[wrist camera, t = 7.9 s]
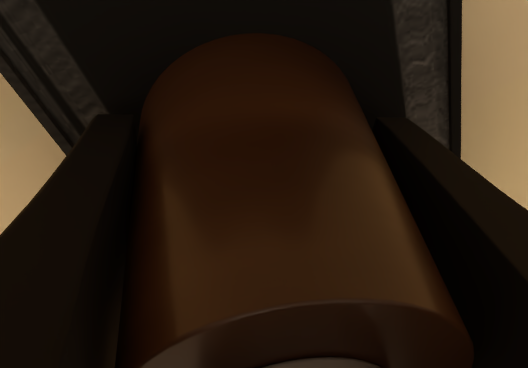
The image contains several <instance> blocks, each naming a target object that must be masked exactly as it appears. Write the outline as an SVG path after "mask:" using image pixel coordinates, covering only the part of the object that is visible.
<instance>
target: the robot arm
mask: <svg viewBox="0 0 528 368" xmlns="http://www.w3.org/2000/svg"><path fill="white" fill-rule="evenodd" d="M372 132H373V134H374V136H375V138H376V140H377V142H378V145H379V147H380V149H381V151H382V153H383V155H384V157H385V159H386V161H387V163H388V166H389V168H390V170H391V172H392V174H393V176H394V178H395V180H396V182H397V184H398V187H399V189H400V191H401V193H402V195H403V197H404V199H405V201H406V203H407V205H408V207H409V210H410V212H411V214H412V216H413V218H414V220H415V222H416V224H417V226H418V228H419V231H420V233H421V235H422V237H423V239H424V241H425V243H426V245H427V247H428V249H429V251H430V254H431V256H432V258H433V260H434V262H435V264H436V266H437V268H438V270H439V272H440V275H441V277H442V279H443V281H444V283H445V285H446V287H447V289H448V291H449V293H450V295H451V298H452V300H453V302H454V304H455V306H456V308H457V310H458V312H459V314H460V316H461V319H462V321H463V323H464V325H465V327H466V329H467V331H468V333H469V335H470V338H471V340H472V342H473V346H474V361H473V366H472V368H528V210H526V209H525V208H524V207H522V206H521V205H519V204H518V203H517V202H515V201H514V200H513V199H511V198H510V197H509V196H507V195H506V194H505V193H503V192H502V191H501V190H499V189H498V188H497V187H495V186H494V185H493V184H492V183H490V182H489V181H488V180H486V179H485V178H484V177H483V176H481V175H480V174H479V173H477V172H476V171H475V170H474V169H472V168H471V167H470V166H469V165H467V164H466V163H465V162H464V161H462V160H461V159H460V158H459V157H457V156H456V155H455V154H454V153H452V152H451V151H450V150H449V149H447V148H446V147H445V146H444V145H442V144H441V143H440V142H439V141H437V140H436V139H435V138H433V137H432V136H431V135H430V134H428V133H427V132H426V131H424V130H423V129H422V128H420V127H419V126H418V125H416V124H415V123H413V122H412V121H411V120H409V119H408V118H380V117H376V120H375V124H374V127H373V130H372ZM136 154H137V141H136V130H135V120H134V115H130V114H97V115H96V116H95V117H94V118H93V119H92V120H91V122H90V123H89V125H88V126H87V128H86V129H85V131H84V132H83V134H82V135H81V136H80V138H79V139H78V141H77V142H76V144H75V145H74V146H73V148H72V149H71V150H70V152H69V153H68V155H67V156H66V157H65V159H64V160H63V161H62V163H61V164H60V165H59V167H58V168H57V169H56V170H55V172H54V173H53V174H52V175H51V177H50V178H49V179H48V180H47V182H46V183H45V184H44V185H43V187H42V188H41V189H40V190H39V192H38V193H37V194H36V195H35V197H34V198H33V199H32V200H31V201H30V202H29V204H28V205H27V206H26V207H25V208H24V209H23V210H22V211H21V212H20V214H19V215H18V216H17V217H16V218H15V219H14V220H13V221H12V222H11V224H10V225H9V226H8V227H7V228H6V229H5V230H4V231H3V232H2V234H1V235H0V368H115V360H116V351H117V341H118V331H119V321H120V311H121V301H122V292H123V282H124V272H125V262H126V252H127V243H128V233H129V223H130V213H131V203H132V193H133V184H134V174H135V164H136Z"/></svg>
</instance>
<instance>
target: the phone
mask: <svg viewBox="0 0 528 368" xmlns="http://www.w3.org/2000/svg"><path fill="white" fill-rule="evenodd" d="M245 33H265V34H275V35H281V36H285V37H289V38H293V39H296V40H299V41H301V42H304V43H306V44H308V45H310V46H312V47H314V48H316V49H317V50H319V51H321V52H322V53H323V54H325V55H326V56H327V57H329V58H330V59H331V60H332V61H333V62H334V63H335V64H336V65H337V66H338V67H339V68H340V69H341V71H342V72H343V74H344V75H345V77H346V78H347V80H348V82H349V84H350V86H351V88H352V90H353V92H354V94H355V96H356V98H357V101H358V103H359V105H360V107H361V109H362V111H363V113H364V115H365V117H366V119H367V122H368V124H369V126H370V128H371V130H373V127H374V124H375V120H376V117H380V118H408V119H409V120H411V121H412V122H413V123H415V124H416V125H418V126H419V127H420V128H422V129H423V130H424V131H426V132H427V133H428V134H430V135H431V136H432V137H433V138H435V139H436V140H437V141H439V142H440V143H441V144H442V145H444V146H445V147H446V148H447V149H449V150H450V151H451V152H452V153H454V154H455V155H456V156H457V157H459V158H460V159H461V50H462V0H0V73H1V74H2V75H3V77H4V78H5V79H6V80H7V82H8V83H9V84H10V85H11V87H12V88H13V89H14V90H15V92H16V93H17V94H18V95H19V97H20V98H21V99H22V100H23V102H24V103H25V104H26V105H27V107H28V108H29V109H30V111H31V112H32V113H33V114H34V116H35V117H36V118H37V119H38V121H39V122H40V123H41V124H42V126H43V127H44V128H45V129H46V131H47V132H48V133H49V134H50V136H51V137H52V138H53V139H54V141H55V142H56V143H57V144H58V146H59V147H60V148H61V150H62V151H63V152H64V153H65V155H66V156H67V155H68V153H69V152H70V150H71V149H72V148H73V146H74V145H75V144H76V142H77V141H78V139H79V138H80V136H81V135H82V134H83V132H84V131H85V129H86V128H87V126H88V125H89V123H90V122H91V120H92V119H93V118H94V117H95V116H96V115H97V114H130V115H134V120H135V130H136V141H137V144H138V134H139V125H140V118H141V112H142V108H143V105H144V102H145V99H146V97H147V95H148V93H149V91H150V89H151V87H152V85H153V84H154V83H155V81H156V80H157V79H158V77H159V76H160V75H161V74H162V73H163V72H164V71H165V70H166V69H167V68H168V67H169V66H170V65H171V64H172V63H173V62H174V61H176V60H177V59H178V58H180V57H181V56H182V55H183V54H185V53H187V52H189V51H190V50H192V49H194V48H196V47H197V46H200V45H202V44H205V43H207V42H210V41H212V40H215V39H219V38H223V37H226V36H231V35H238V34H245Z"/></svg>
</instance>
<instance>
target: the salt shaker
mask: <svg viewBox="0 0 528 368" xmlns="http://www.w3.org/2000/svg"><path fill="white" fill-rule="evenodd" d="M473 361H474V346H473V342H472V340H471V338H470V335H469V333H468V331H467V329H466V327H465V325H464V323H463V321H462V319H461V316H460V314H459V312H458V310H457V308H456V306H455V304H454V302H453V300H452V298H451V295H450V293H449V291H448V289H447V287H446V285H445V283H444V281H443V279H442V277H441V275H440V272H439V270H438V268H437V266H436V264H435V262H434V260H433V258H432V256H431V254H430V251H429V249H428V247H427V245H426V243H425V241H424V239H423V237H422V235H421V233H420V231H419V228H418V226H417V224H416V222H415V220H414V218H413V216H412V214H411V212H410V210H409V207H408V205H407V203H406V201H405V199H404V197H403V195H402V193H401V191H400V189H399V187H398V184H397V182H396V180H395V178H394V176H393V174H392V172H391V170H390V168H389V166H388V163H387V161H386V159H385V157H384V155H383V153H382V151H381V149H380V147H379V145H378V142H377V140H376V138H375V136H374V134H373V132H372V130H371V128H370V126H369V124H368V122H367V119H366V117H365V115H364V113H363V111H362V109H361V107H360V105H359V103H358V101H357V98H356V96H355V94H354V92H353V90H352V88H351V86H350V84H349V82H348V80H347V78H346V77H345V75H344V74H343V72H342V71H341V69H340V68H339V67H338V66H337V65H336V64H335V63H334V62H333V61H332V60H331V59H330V58H329V57H327V56H326V55H325V54H323V53H322V52H321V51H319V50H317V49H316V48H314V47H312V46H310V45H308V44H306V43H304V42H301V41H299V40H296V39H293V38H289V37H285V36H281V35H275V34H265V33H245V34H238V35H231V36H226V37H223V38H219V39H215V40H212V41H210V42H207V43H205V44H202V45H200V46H197V47H196V48H194V49H192V50H190V51H189V52H187V53H185V54H183V55H182V56H181V57H180V58H178V59H177V60H176V61H174V62H173V63H172V64H171V65H170V66H169V67H168V68H167V69H166V70H165V71H164V72H163V73H162V74H161V75H160V76H159V77H158V79H157V80H156V81H155V83H154V84H153V85H152V87H151V89H150V91H149V93H148V95H147V97H146V99H145V102H144V105H143V108H142V112H141V118H140V125H139V134H138V144H137V154H136V164H135V174H134V184H133V193H132V203H131V213H130V223H129V233H128V243H127V252H126V262H125V272H124V282H123V292H122V301H121V311H120V321H119V331H118V341H117V351H116V360H115V368H472V366H473Z"/></svg>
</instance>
